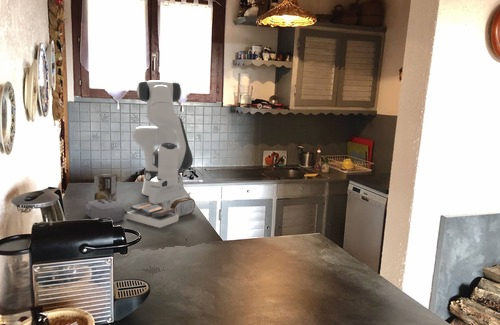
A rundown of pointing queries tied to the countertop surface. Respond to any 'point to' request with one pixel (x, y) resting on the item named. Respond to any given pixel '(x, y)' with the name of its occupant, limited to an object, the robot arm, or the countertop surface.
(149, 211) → the rocker
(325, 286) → the countertop surface
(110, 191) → the coffee box
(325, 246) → the countertop surface
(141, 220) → the white rectangular tray
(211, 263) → the countertop surface
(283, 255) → the countertop surface
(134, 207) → the rocker
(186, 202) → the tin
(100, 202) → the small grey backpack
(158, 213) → the flat block
